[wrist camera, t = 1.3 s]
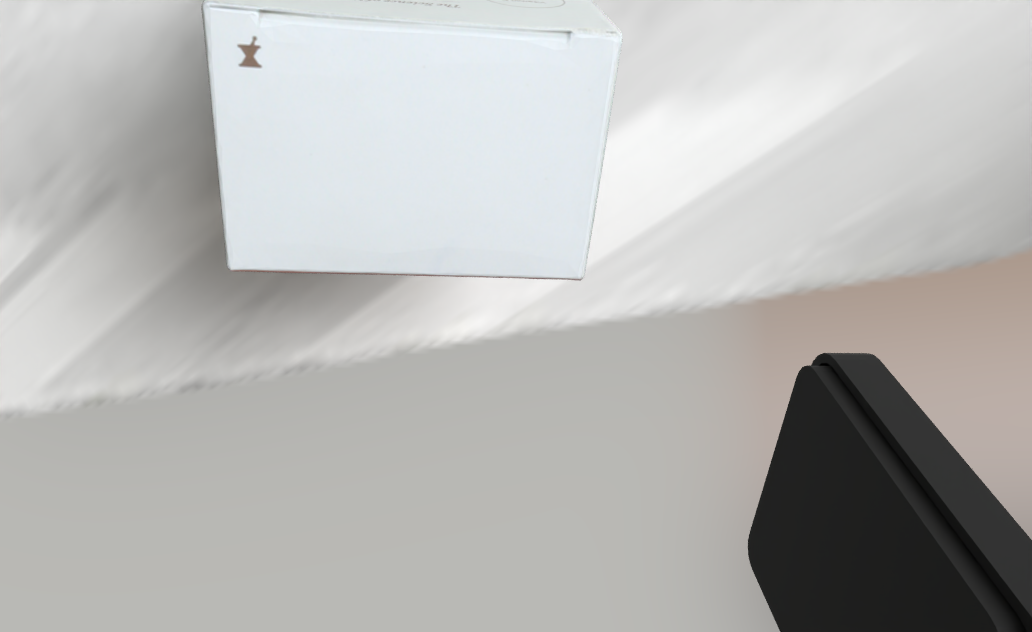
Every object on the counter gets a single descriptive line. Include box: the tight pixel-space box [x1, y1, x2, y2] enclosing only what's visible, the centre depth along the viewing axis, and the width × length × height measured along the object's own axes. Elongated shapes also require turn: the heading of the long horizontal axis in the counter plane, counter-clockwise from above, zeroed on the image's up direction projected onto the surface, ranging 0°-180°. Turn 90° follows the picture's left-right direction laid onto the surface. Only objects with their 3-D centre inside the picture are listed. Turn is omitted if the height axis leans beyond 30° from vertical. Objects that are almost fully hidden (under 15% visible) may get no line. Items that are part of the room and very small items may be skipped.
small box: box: [202, 0, 623, 280], centre depth 22 cm, size 8×6×10 cm
